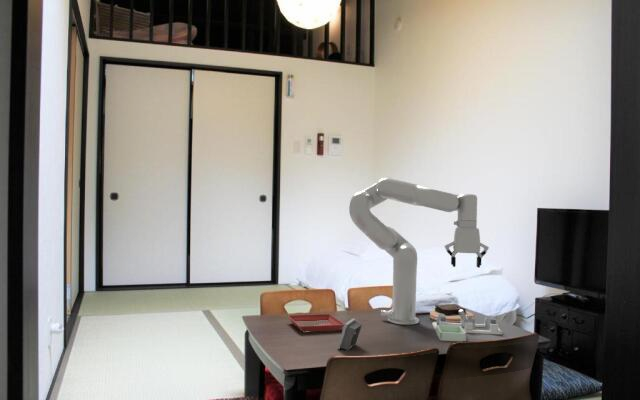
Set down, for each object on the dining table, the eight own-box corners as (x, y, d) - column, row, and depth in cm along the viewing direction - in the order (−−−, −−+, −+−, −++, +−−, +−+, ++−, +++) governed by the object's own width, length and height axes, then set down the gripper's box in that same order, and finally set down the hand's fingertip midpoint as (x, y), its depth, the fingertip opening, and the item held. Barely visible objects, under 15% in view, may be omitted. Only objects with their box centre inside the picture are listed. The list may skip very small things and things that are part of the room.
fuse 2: (490, 332, 207) (490, 319, 207) (486, 328, 214) (486, 315, 214) (495, 332, 207) (495, 319, 207) (491, 328, 214) (491, 316, 213)
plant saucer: (329, 321, 220) (329, 313, 220) (345, 332, 203) (345, 323, 203) (287, 323, 214) (287, 315, 214) (299, 335, 197) (299, 326, 197)
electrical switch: (346, 342, 187) (349, 316, 187) (359, 346, 186) (363, 320, 185) (336, 349, 179) (339, 322, 178) (351, 353, 177) (354, 326, 176)
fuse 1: (440, 330, 209) (440, 317, 209) (438, 325, 215) (438, 313, 215) (445, 330, 209) (445, 317, 209) (443, 326, 215) (443, 313, 215)
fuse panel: (435, 331, 207) (436, 321, 207) (432, 324, 218) (432, 315, 218) (502, 334, 204) (502, 325, 204) (495, 327, 216) (495, 318, 216)
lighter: (472, 328, 213) (472, 308, 213) (474, 329, 212) (475, 309, 212) (457, 329, 211) (458, 309, 210) (460, 330, 209) (460, 310, 209)
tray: (440, 340, 194) (440, 332, 194) (436, 332, 205) (436, 324, 205) (466, 341, 193) (466, 333, 193) (460, 333, 204) (460, 326, 204)
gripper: (446, 224, 214) (445, 267, 214) (490, 225, 212) (490, 268, 212) (443, 223, 221) (443, 265, 221) (486, 224, 220) (485, 266, 220)
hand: (466, 266), depth 217 cm, fingers open, 9 cm apart
